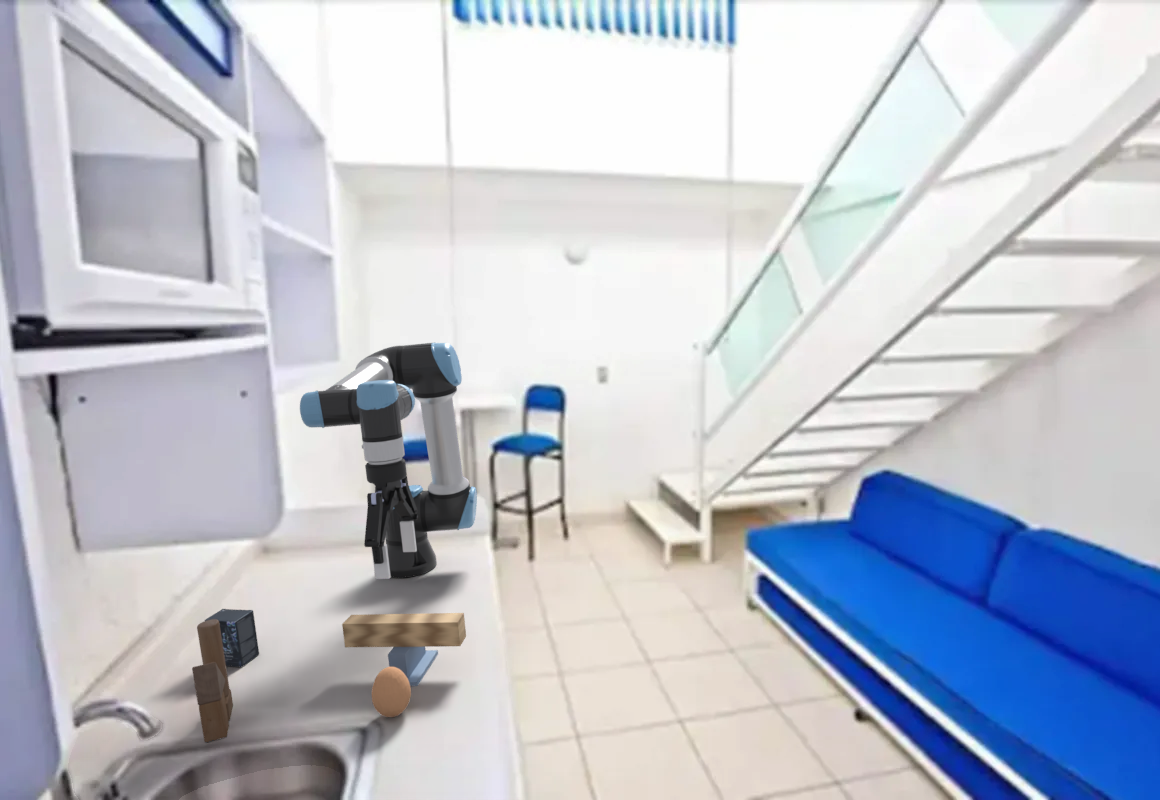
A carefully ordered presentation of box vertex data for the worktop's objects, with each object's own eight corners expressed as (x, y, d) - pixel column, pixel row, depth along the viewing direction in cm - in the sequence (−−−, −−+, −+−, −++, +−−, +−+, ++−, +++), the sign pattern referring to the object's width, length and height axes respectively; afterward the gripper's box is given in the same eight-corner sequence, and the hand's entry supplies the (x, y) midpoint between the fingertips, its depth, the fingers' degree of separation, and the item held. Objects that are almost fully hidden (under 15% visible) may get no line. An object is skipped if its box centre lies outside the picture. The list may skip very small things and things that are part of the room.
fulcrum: (401, 654, 139) (398, 627, 139) (438, 653, 138) (435, 627, 138) (378, 686, 128) (374, 657, 127) (417, 686, 127) (414, 656, 126)
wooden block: (204, 744, 113) (188, 646, 111) (212, 711, 123) (197, 621, 121) (227, 737, 115) (212, 641, 112) (234, 705, 125) (220, 616, 122)
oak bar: (345, 647, 132) (342, 623, 131) (354, 637, 136) (351, 614, 135) (460, 646, 129) (457, 622, 128) (466, 636, 133) (463, 612, 132)
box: (210, 666, 140) (203, 619, 139) (230, 652, 146) (223, 607, 145) (241, 668, 139) (234, 621, 137) (260, 654, 144) (253, 609, 143)
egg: (367, 717, 118) (361, 670, 117) (399, 699, 123) (394, 654, 121) (387, 731, 113) (381, 683, 112) (420, 711, 118) (415, 665, 117)
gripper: (392, 447, 140) (403, 542, 143) (335, 477, 116) (350, 591, 118) (426, 445, 139) (436, 541, 142) (376, 475, 115) (389, 590, 117)
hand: (397, 564), depth 130 cm, fingers open, 13 cm apart
